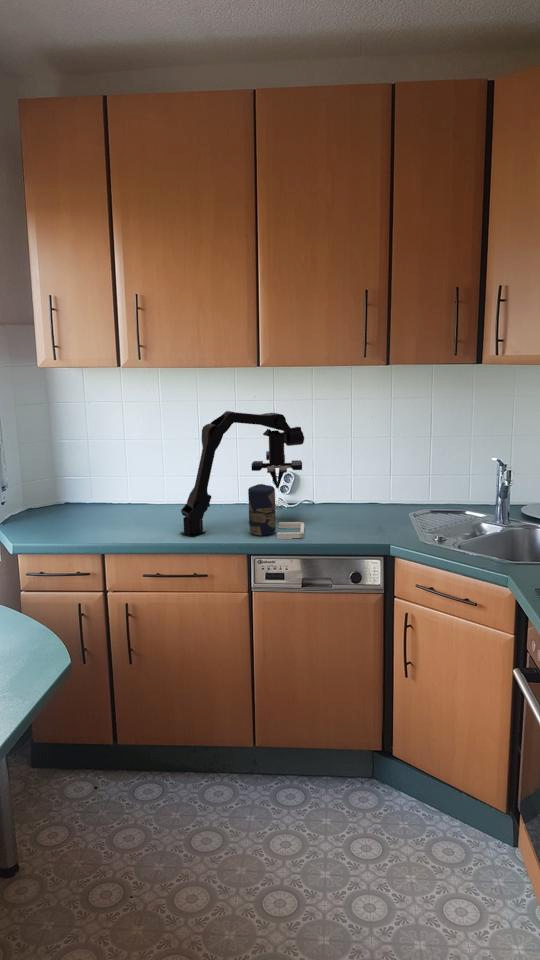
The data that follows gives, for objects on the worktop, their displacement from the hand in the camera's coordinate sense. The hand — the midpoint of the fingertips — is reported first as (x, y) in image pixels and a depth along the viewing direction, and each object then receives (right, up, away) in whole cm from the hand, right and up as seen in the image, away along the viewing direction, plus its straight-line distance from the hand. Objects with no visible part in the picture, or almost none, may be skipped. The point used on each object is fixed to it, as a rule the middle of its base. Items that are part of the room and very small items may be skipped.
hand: (277, 488), depth 279 cm
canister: (-5, -16, -13) cm, 22 cm away
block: (+5, -16, -14) cm, 22 cm away
